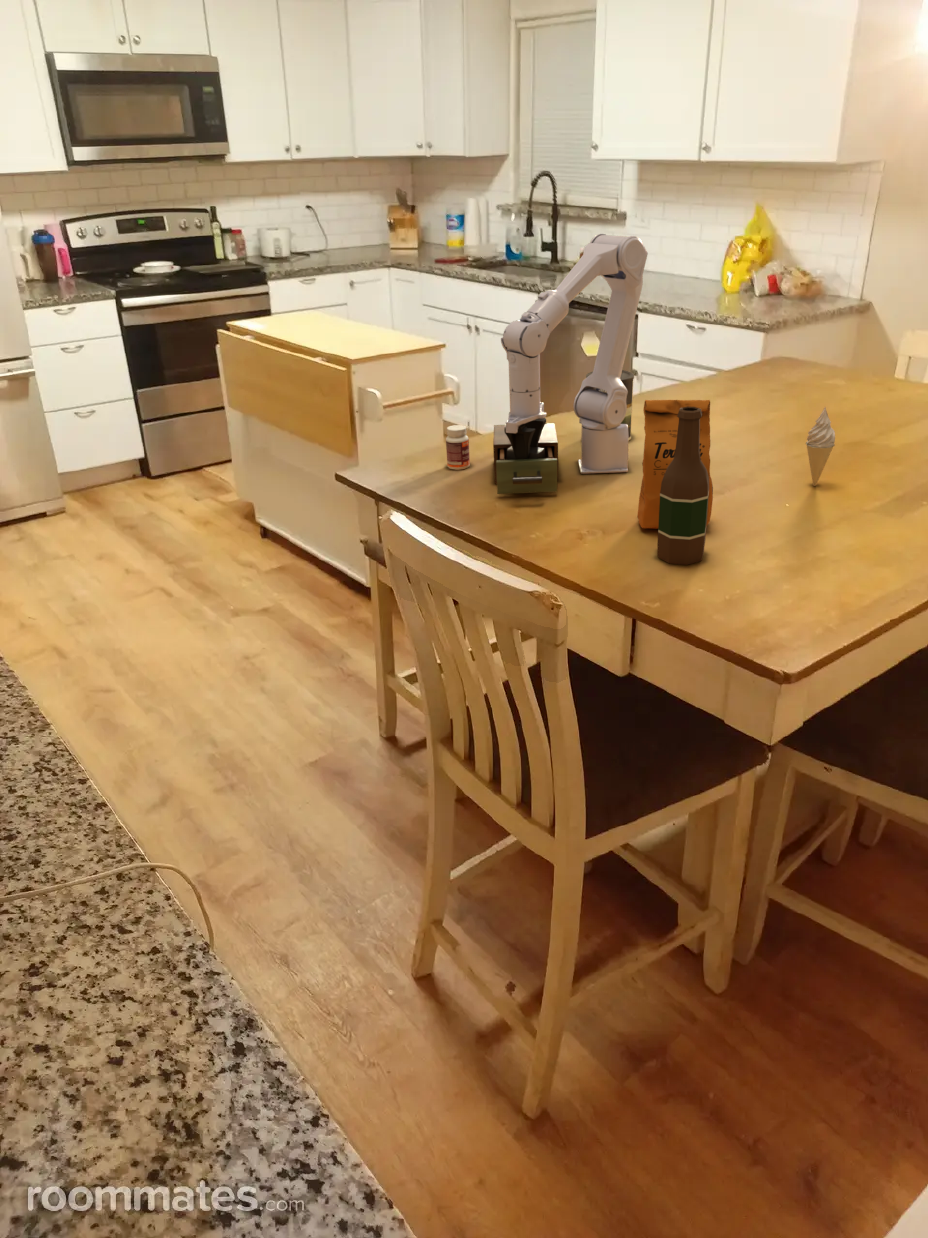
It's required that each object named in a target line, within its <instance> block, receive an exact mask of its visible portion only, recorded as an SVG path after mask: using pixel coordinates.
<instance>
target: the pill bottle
mask: <svg viewBox="0 0 928 1238" xmlns="http://www.w3.org/2000/svg"><path fill="white" fill-rule="evenodd" d="M467 433H468V432H467V426H465V425H462V424H454V425H449V426H447V427H446V434H447V436H446V437H445V449H446V463H447V468H448V469H450V470H457V471H460V470H464V469H468V468H469V467H470V466H471V465H470V464H471V463H470V462H471V461H470V439H469V436H468V435H467Z"/></svg>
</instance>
